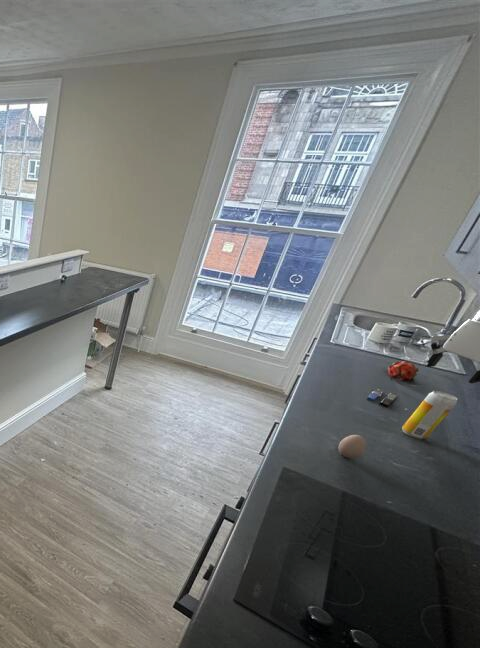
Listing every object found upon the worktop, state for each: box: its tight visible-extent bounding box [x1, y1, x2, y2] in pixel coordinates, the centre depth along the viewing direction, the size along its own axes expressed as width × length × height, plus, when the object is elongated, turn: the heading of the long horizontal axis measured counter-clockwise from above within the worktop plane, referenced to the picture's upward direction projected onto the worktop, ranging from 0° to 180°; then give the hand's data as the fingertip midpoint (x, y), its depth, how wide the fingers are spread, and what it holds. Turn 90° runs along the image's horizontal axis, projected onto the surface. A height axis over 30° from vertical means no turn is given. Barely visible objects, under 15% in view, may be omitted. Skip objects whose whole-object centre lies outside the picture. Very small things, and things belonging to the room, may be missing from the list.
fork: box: [366, 388, 384, 402], centre depth 151 cm, size 15×3×1 cm, turn 126°
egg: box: [338, 434, 367, 459], centre depth 113 cm, size 5×5×7 cm
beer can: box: [401, 390, 458, 440], centre depth 126 cm, size 6×6×15 cm
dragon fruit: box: [386, 360, 420, 382], centre depth 164 cm, size 8×8×12 cm
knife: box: [379, 392, 398, 408], centre depth 149 cm, size 16×2×1 cm, turn 126°
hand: (450, 374), depth 117 cm, fingers open, 9 cm apart
